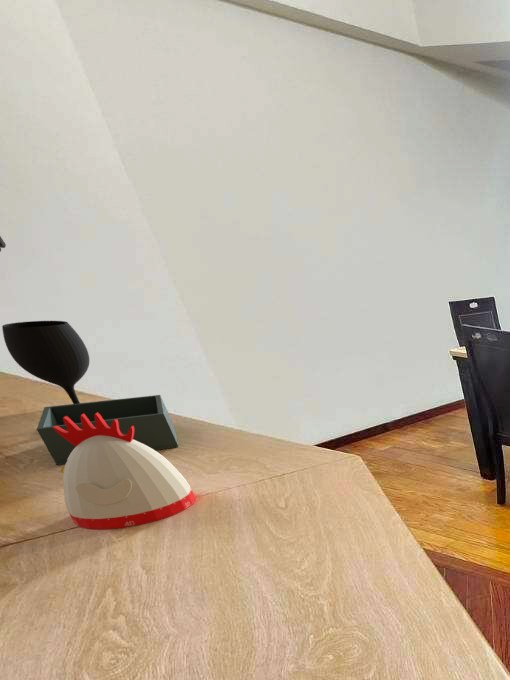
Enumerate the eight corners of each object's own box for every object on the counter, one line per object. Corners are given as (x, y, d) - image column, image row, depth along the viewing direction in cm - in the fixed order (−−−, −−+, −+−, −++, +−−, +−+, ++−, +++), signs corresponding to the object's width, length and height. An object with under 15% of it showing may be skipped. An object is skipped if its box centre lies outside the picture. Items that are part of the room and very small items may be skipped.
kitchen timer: (95, 498, 94) (44, 405, 86) (204, 486, 99) (165, 397, 92) (57, 536, 83) (-5, 433, 76) (182, 519, 89) (136, 422, 81)
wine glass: (110, 415, 129) (63, 318, 119) (130, 423, 125) (82, 324, 115) (44, 426, 121) (-13, 323, 112) (62, 436, 117) (4, 330, 107)
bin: (62, 440, 115) (44, 406, 112) (174, 425, 125) (160, 394, 122) (56, 465, 104) (36, 429, 101) (178, 447, 114) (163, 413, 111)
